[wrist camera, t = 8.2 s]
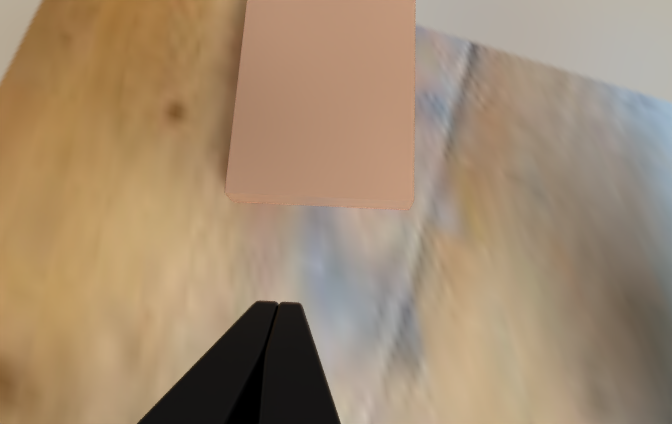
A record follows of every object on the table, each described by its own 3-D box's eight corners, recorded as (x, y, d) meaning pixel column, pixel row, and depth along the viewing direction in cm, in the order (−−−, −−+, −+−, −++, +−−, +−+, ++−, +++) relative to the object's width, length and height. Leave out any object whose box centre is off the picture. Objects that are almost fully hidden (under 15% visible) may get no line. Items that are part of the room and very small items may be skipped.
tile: (413, 201, 18) (415, -2, 20) (224, 192, 18) (247, -8, 21) (406, 212, 20) (409, 26, 22) (235, 204, 20) (256, 20, 23)
